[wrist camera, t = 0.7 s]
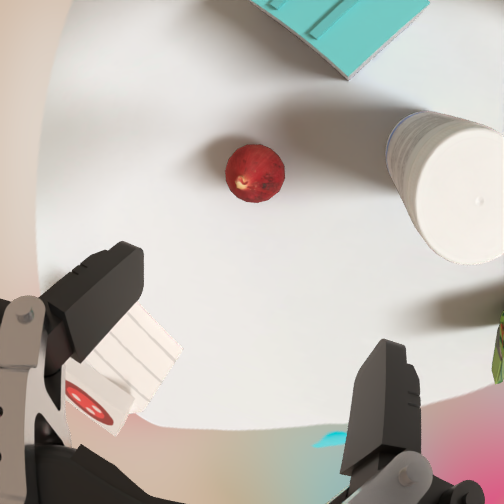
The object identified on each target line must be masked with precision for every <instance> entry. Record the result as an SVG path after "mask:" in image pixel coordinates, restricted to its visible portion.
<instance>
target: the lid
mask: <svg viewBox="0 0 504 504" xmlns="http://www.w3.org/2000/svg"><path fill="white" fill-rule="evenodd" d="M251 1H252V2H254V3H255V4H257V5H258V6H260V7H261V8H263V9H264V10H266V11H267V12H269V13H270V14H271V15H273V16H274V17H276V18H277V19H278V20H280V21H281V22H282V23H284V24H285V25H287V26H288V27H289V28H291V29H292V30H293V31H294V32H296V33H297V34H298V35H300V36H301V37H302V38H303V39H305V40H306V41H307V42H308V43H310V44H311V45H312V46H313V47H314V48H316V49H317V50H318V51H319V52H320V53H322V54H323V55H324V56H325V57H326V58H327V59H329V60H330V61H331V62H332V63H333V64H334V65H335V66H336V67H338V68H339V69H340V70H341V71H342V72H343V73H344V74H345V75H346V76H347V77H349V76H350V75H351V74H352V73H353V72H354V71H355V70H356V69H357V68H359V67H360V66H361V65H362V64H363V63H364V62H365V61H366V60H367V59H368V58H369V57H370V56H371V55H372V54H374V53H375V52H376V51H377V50H378V49H379V48H380V47H381V46H382V45H383V44H385V43H386V42H387V41H388V40H389V39H390V38H391V37H392V36H393V35H395V34H396V33H397V32H398V31H399V30H400V29H401V28H402V27H404V26H405V25H406V24H407V23H408V22H409V21H410V20H412V19H413V18H414V17H415V16H416V15H417V14H419V13H420V12H421V11H422V10H423V9H424V8H426V7H427V6H428V5H429V4H430V2H429V1H428V0H251Z"/></svg>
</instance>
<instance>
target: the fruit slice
mask: <svg viewBox="0 0 504 504" xmlns="http://www.w3.org/2000/svg"><path fill="white" fill-rule="evenodd" d="M492 373H493V377H494V381H495V384H498V383H501V382H502V381H503V379H504V311H503V312H502V314H501V318H500V325H499V327H498V330H497V337H496V343H495V350H494V356H493V362H492Z"/></svg>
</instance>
